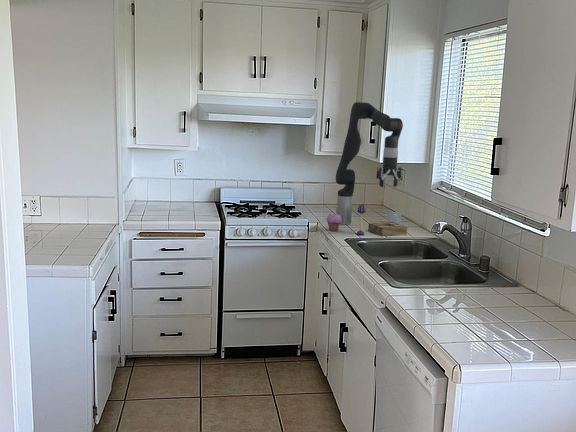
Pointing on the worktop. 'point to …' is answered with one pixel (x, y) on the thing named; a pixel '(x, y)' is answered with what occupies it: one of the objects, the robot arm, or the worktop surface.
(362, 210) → the toy lamp
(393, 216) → the medicine box
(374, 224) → the socket block
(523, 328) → the worktop surface
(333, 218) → the cupcake
